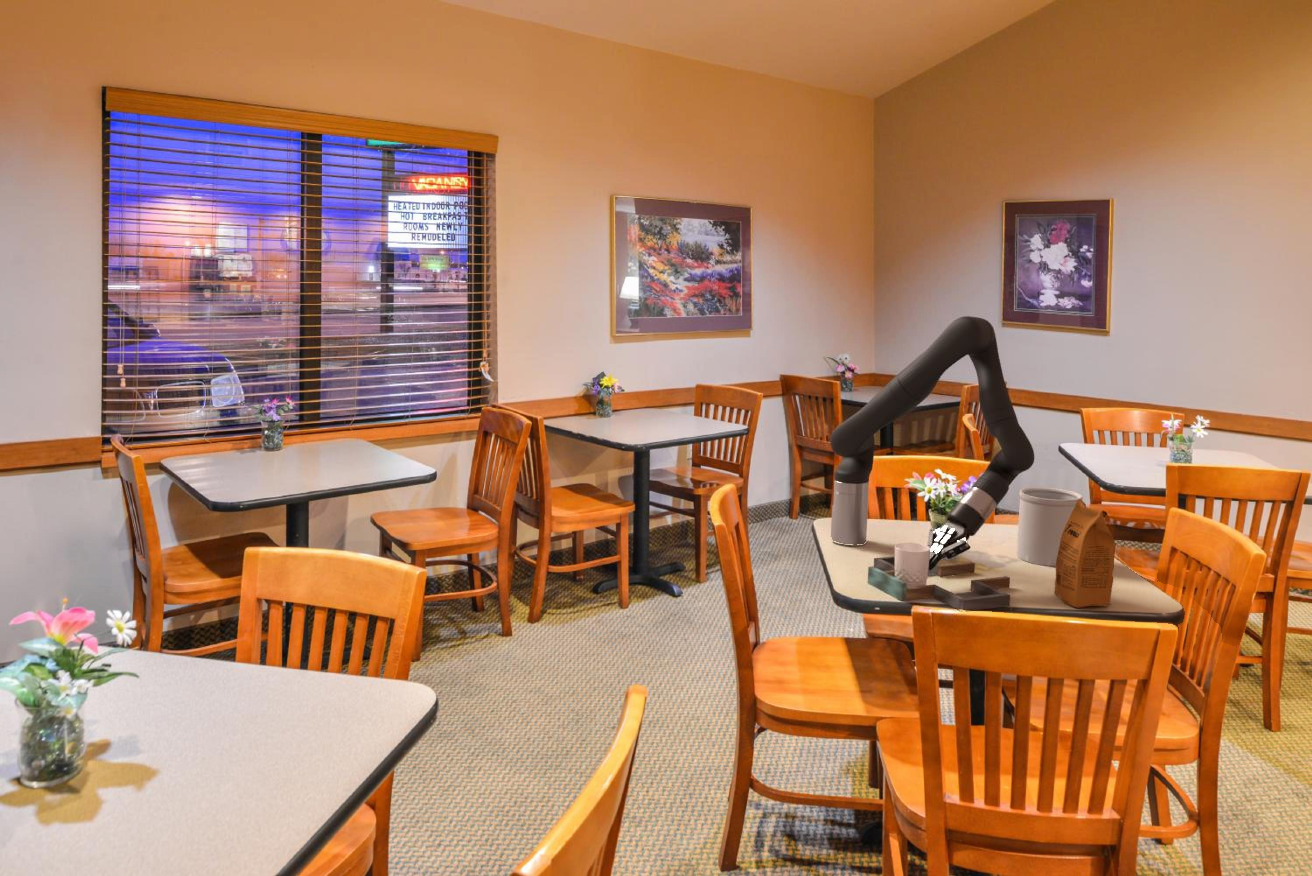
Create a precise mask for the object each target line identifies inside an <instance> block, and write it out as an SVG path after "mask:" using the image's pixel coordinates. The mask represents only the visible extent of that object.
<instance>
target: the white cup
mask: <svg viewBox="0 0 1312 876" xmlns="http://www.w3.org/2000/svg"><path fill="white" fill-rule="evenodd" d="M894 556H895V577H896V578H898V579H900V580H902V581H904V582H906V583H907V587H916V586H925V585H927V580H928V569H929V558H930V547H928V546H927V544H922V543H917V542H900V543H897V544H895V545H894Z"/></svg>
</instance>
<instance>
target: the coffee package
mask: <svg viewBox="0 0 1312 876" xmlns="http://www.w3.org/2000/svg"><path fill="white" fill-rule="evenodd" d="M1108 516H1109V514H1108V512H1107V511H1105V509H1101V508H1093V507H1087V504H1086V503H1085V502H1084V501H1083V499H1082V500H1078V502H1077V503H1076V506H1075V508H1074V509H1073V511H1072V513H1071V515H1070V518H1069V520H1068V521H1067V523H1066V525H1065V528H1064V531H1063V533H1062V537H1061V540H1060V545H1059V550H1058V555H1057V559H1056V566H1055V578H1054V579H1055V580H1054V592H1053V594H1054V595H1055V596H1058V597H1059V599H1060V600H1061V602H1063V603H1065V604H1066V605H1069V606H1072V607H1074V608H1077V609H1078V608H1079V609H1080V608H1085V607H1105V606H1110V605H1111V596H1112V590H1113V585H1114V584H1113V583H1114V580H1115V579H1114V568H1115V556H1116V555H1115V554H1116V542H1115V541H1116V540H1115V538H1114V537H1113V535H1112V533H1111V530H1110V529H1109V527H1108V526H1107V524H1106V521H1105V518H1107V517H1108Z"/></svg>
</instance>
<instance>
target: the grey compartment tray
mask: <svg viewBox="0 0 1312 876" xmlns="http://www.w3.org/2000/svg"><path fill="white" fill-rule="evenodd" d="M867 568H868V570H867V584H868V583H869V585H870V586H872V587H874V588H875V589H878V590H879V591H881V592H883V593H885V594H887V595H889V596H891V597H892V598H895V599H897V600H898V601H901V602H904V601H913V600H920V599H922V600H923V599H928V598H932V599H933V598H934V599H936V600H937V601H939V602H941V603H944V604H946V605H947V606H950V607H951V608H954V609H955V608H956V610H958V609H963V610H974V611H980V610H988V609H995V608H1003V607H1010V602H1011V601H1010V600H1011V594H1009V593H1007V592H1004V591H1002V590H1003V589H1004V590H1005V589H1010V587H1011V586H1010V584H1011V577H1010V576H1006V575H1005V576H998V577H997V576H996V577H989V578H979V579H972V580H970V588H969V589H970V590H969V591H966V592H958V593H954V592H951V591H949V590H948V589H945V588H943V587H941V586H939V585H936V584H926V585H925V586H916V587H907V583H906V582H904V581H902V580H900V579H898V578H896V577H895V555H894V556H885V557H884V556H882V557H881V556H880V557H874V558H873V565H872V566H868V567H867ZM975 568H976V563H975V562H973V561H967V562H960V563H951V564H949V563H948V564H940V563H938V564H937V565H936V566H935V567H934V568H933V569H932V570H928V576H929V577H939V576H940V578H943V576H945V577H951V576H952V575H954V576H959V575H961V576H962V575H969V574H970V575H971V574H975Z"/></svg>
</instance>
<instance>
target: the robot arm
mask: <svg viewBox="0 0 1312 876" xmlns="http://www.w3.org/2000/svg"><path fill="white" fill-rule="evenodd" d="M998 347H999V346H998V343H997V337H996V332H995V329H994V326H993V325H992V323H991V322H989V320H987V319H985V318H982V317H978V316H977V317H976V316H969V315H967V316H961V317H958V318H956V319H955V320H953V321H952V322H951V323H949V324H948V326H947V327H946V328H945V329H944V330H943V331H942V332H941V334H940V335H939V336H938V337H937V338H936V339H935V340H934V341H933V342H932V343H931V344H930V346H928V348H926V350H924V351H923V353H921V354H920V355H918V356H917V358H914V360H912V361H911V363H910V364H908V365H907V366H906V367H905V368H904V369H902V370H901V371H900V372H899V373H898V374H896V375H895V376H894V377H893V378H892V379H891V380H890V381H889V382H888V383H887V384H886V385H885V386H884V387H883V388H882V389H881V390H879V392H877V393H876V394H875V395H874V396H873V397H872V398H871V399H870V400H869V401H868V402H867V403H866V404H865V405H864V406H863V407H862V408H861V409H860V410H858V411H857V412H856V413H854V414H853V415H851V416H850V417H849V418H847V419H846V420H845V421H843V422H841V423H840V424H839V425H837V426H836V427H835V429H834V430H833V431H832V434H831V436H830V442H829V443H830V447H831V450H832V451H833V452H834V453H835V454H836V455H837V456H839V457H841V458H842V459H841V460H840V461H841V462H840V463H839V464H838V466H837V467H836V469H835V470H834V482H833V483H834V485H833V486H834V487H833V504H832V506H831V526H830V529H831V530H830V538H831V537H832V539H831V541H832V540H833V541H836V542H839V543H843V544H853V545H857V544H864V543H865V542H866V543H867V534H868V533H867V530H868V512H869V511H868V510H869V493H870V492H869V491H870V490H869V489H870V488H869V487H870V476H871V473H872V471H873V466H874V457H875V456H874V455H875V445H876V444H875V443H876V440H875V434H877V432H879V431H880V430H881V429H883V428H884V427H886V426H888V425H889V424H892V423H893V422H895V421H897V420H898V419H901V418H902V417H904V416H905V415H908V413H910V412H912V411H913V410H915V408H916V407H918V406H919V405H920V404H921V403H922V402H923V401H924V400H926V399H927V398H928V397H929V395H931V393H932V392H933V390H934V389H935V388H936V386H937V384H938V382H939V380H940V379H941V377H942V376H943V374H944V373H945V372H946V371H947V370H948V369H949V368H951V367H952V366H953V365H955V364H956V363H957V362H958V361H960V360H961V359H962V358H964V357H966V356H967V355H968V356H969V359H970V360H971V362H972V364H973V368H974V369H975V372H976V376H977V383H978V399H979V407H980V410H981V414H982V416H983V419H984V422H985V426H986V428H987V430H988V433H989V435H990V436H991V437H993V438H996V440H997V441H998V444H999V446H1000V450H999V451H997V453H996V454H995V455H994V456H993V457H992V459H991V460H990V462H989V464H988V466H987V467H986V469H985V470H984V472H983V473H982V474H981V475H980V476H979V477H978V478H977V480H976V481H975V482H974V484H973V485H972V486H971V487H970V488H969V489H968V490H967V491H966V492H965V493H964V494H963V495H962V496H961V497H960V499H959V500H958V501H957V503H955V504H954V506H953V507H952V509H951V510H950V511H949V512H948V513H947V515H946V522H945V523H943V524H941V526H940V527H939V528H937V529H935V528H933V527H932V528H930V529H929V530H928V536H927V544H926V546H928V547H930V558H929V569H928V570H932V569H933V568H934V567H935V566H936V565H937V564H939V563H940V561H941V560H944V559H947V560H951V559H953V558H955V557H957V556H959V555H960V554H963V553H965V552H967V551H969V550H970V549H971V546H970V545H969V543H968V541H969V539H970V537H973V536H976V534H977V533H978V532H979V530H980V529H981V528H982V526H983V525H984V524H985V523H986V521H987V520H989V518H990V517H991V515H993V512H994V511H995V509H996V508H997V506H998V505H999V504H1000V502H1001V501H1002V500H1003V498H1005V496H1006V495H1007V494H1008V491H1009V489H1010V485H1011V484H1012V482H1013V481H1014V480H1015V479H1016V478H1017V477H1018V476H1019V475H1020V474H1021V473H1023V472H1026V471H1028V470H1030V469H1031V468H1032V466H1033V465H1034V463H1035V451H1034V448H1033V446H1032V444H1031V441H1030V439H1029V438H1028V436H1027V434H1026V433H1025V431H1024V430H1023V428H1022V427H1021V426H1020V424H1019V419H1018V417H1017V414H1016V411H1015V409H1014V406H1013V404H1012V400H1011V398H1010V393H1009V391H1008V388H1007V385H1006V381H1005V378H1004V374H1003V369H1002V364H1001V360H1000V359H1001V358H1000V353H999V348H998ZM864 545H865V544H864Z"/></svg>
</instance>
